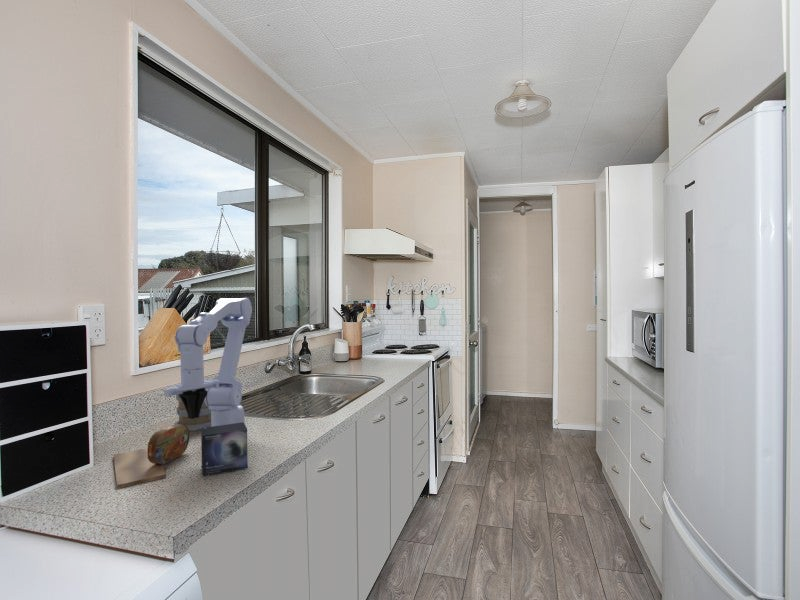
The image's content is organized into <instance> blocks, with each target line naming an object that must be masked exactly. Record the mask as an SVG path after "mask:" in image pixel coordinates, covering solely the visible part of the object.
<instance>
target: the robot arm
mask: <svg viewBox="0 0 800 600" xmlns="http://www.w3.org/2000/svg"><path fill="white" fill-rule="evenodd" d="M252 312H253V306H252V303H251V300H250V298H248V297H242V298H241V297H240V298H238V297H236V298H225V297H224V298H223V297H221V298H219V299H217V300H216V302H215V306H214V307H213V308H212V309H211V310H210V311H209V312H206V311H205V312H200V313H199V315H198V316H197V317H196V318H194V319H192V320H191V321H190V322H189V323H188V324H183V325H180V326H179V327H178V328H176V331H175V336H174V341H175V344H176V345H177V351H178V353H180V354H179V356H180V358H179V359H180V384H179V385H175V386H172V387H168V388H164V389H163V396H164V397H167V398H171V397H172V396H176V395H178V394H179V397H180V398H181V400H182V402H183V404H184V406H185V408H186V411H187V414H188V418H190V419H194V418H198V417H199V414H200V410H201V406H202V404H203V401H205V404H206V405H207V406H209V409H211V427H213V426H220V425H227V424H235V423H242V422H244V424H245V419H246V418H245V410H244V406H242V405H240V404H241V401H242V398H243V397H242V396H243V393H242V391H243V390H242V389H243V384H242V382H241V381H240V380H239V379H238V378H236V374H237V371H238V367H239V361H240V356H241V353H242V352H241V351H242V347H243V342H244V337H245V333H246V328H247V327H248V326H250V322H251V317H252V314H253V313H252ZM218 322H221V324H222V325H223V326H224V327H226V328H227V329H228V330H227V336H226V340H225V344H224V349H223V351H222V358H221V361H220V366H219V371H218V375H216V376H215V377H213V378H212V379H211V380H205V374H204V373H205V371H204V370H205V366H204V345H206V343H207V340H208V338H209V336H210V334H211V333H212V332H213V331H215V329H216V328H217V327H218V324H219V323H218ZM205 389H207V390H205ZM245 425H246V424H245Z"/></svg>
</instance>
